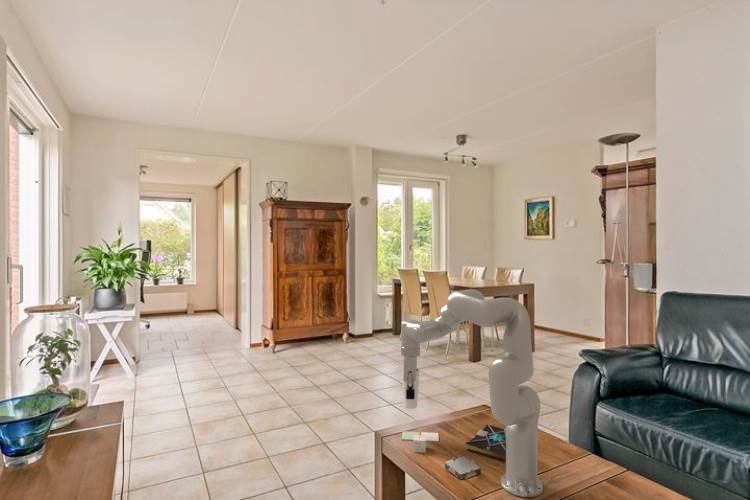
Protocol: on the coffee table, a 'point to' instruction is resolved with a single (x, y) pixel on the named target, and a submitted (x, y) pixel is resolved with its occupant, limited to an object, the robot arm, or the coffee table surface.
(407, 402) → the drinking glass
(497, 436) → the book
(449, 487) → the coffee table surface
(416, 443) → the die
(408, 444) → the coffee table surface
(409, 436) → the squares
